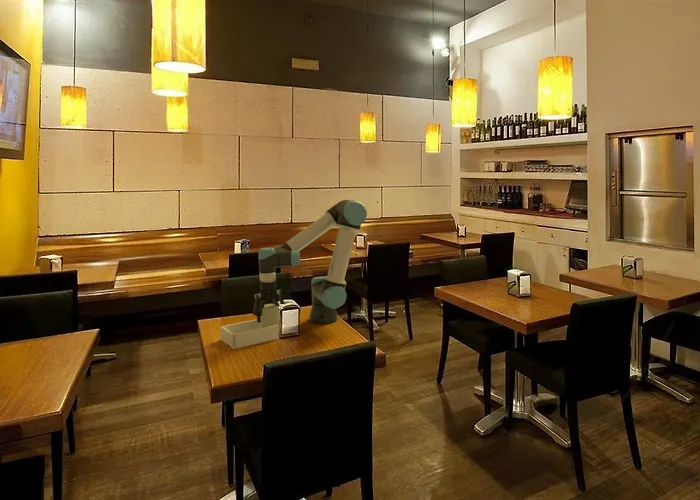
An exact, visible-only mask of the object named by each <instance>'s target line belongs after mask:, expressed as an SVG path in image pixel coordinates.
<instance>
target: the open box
mask: <svg viewBox="0 0 700 500" xmlns="http://www.w3.org/2000/svg"><path fill="white" fill-rule="evenodd" d="M219 328H220V329H219V331H220V341H222V342H223V343H224V344H226V345H227V346H228V345H229V347H230V348H231V349H232V350H237V349H240V348H243V347H244V348H245V347H249V346H253V345H257V344H262V343H265V342H271V341H274V340H279V331H278V325H274V326H269V327H265V328H259V323H258V322H257V318H255V319H252V320H251V319H250V320H246V321H241V322H236V323H232V324H231V323H230V324H226V325H222V326H220V327H219Z"/></svg>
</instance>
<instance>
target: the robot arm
mask: <svg viewBox="0 0 700 500" xmlns="http://www.w3.org/2000/svg"><path fill="white" fill-rule="evenodd" d="M367 217H368V212H367V208H366V207H365V205H364V203H362V202H360V201H357V200H352V199H351V200H349V199H344V200H341V201H340V200H339V201H338V202H337V203H335V204H334V205H332V206H331V207H330V208H329V209H327V210H326V211H325V212H324V215H322V216H321V217H319V218H318V219H317V220H315V221H314V222H312V223H311V224H310V225H308V226H307V227H305V228H304V229H302V230H301V231H299V233H297V234H295V235H294V236H293V237H291V238H290V239H289V240H287V241H286V242H285V243H283V244H282V245H279V246H276V247H274V248H273V247H263V248H262V247H261V248H260V249H258V258H257V259H258V271H259V272H258V273H259V289H260V292H259V293H255V294H253V295H254V301H253V310H252V315H253V316H256V319H257V322H258V323H259V328H263V317H262V316H261V313H262V309H263V308H264V305H265V304H267V302H268V301H272V302H273V304H275V305H277V306H278V305H279V306H280V304H285V301H284V296H283V290H281V289H278V290H277V281H276V279H277V278H276V277H277V275H276V268H277V269H278V268H288V267H296V266H299V265H300V263H301V253H300V251H302V250H303V249H305V248H306V247H307V246H309V245H310V244H311V243H313V242H314V241H315V240H317V239H318V238H319V237H321V236H322V235H323V234H325V233H326V232H328V231H329V230H331V229H332V228H336V227H338V232H337V235H336V239H335V243H334V244H335V245H334V248H333V251H332V252H333V253H332V257H331V261H330V264H329V268H328V271H327V275H326V276H325V275H324V276H316V277H313V278H312V279H311V307H310V308H311V309H310V312H309V314H308V315H309V316H308V317H309V318H308V321H309V322H311V323H314V324H329V323H334V321H335V322H337V321H338V318H339V317H338V316H339V315H338V312H337V310H336V309H338V308H340V307H342V306H343V305H344V304H345V302H346V300H347V292H346V287H347V282H346V280H345V277H346V274H347V271H348V267H349V266H348V265H349V263H350V262H349V261H350V258H351V253H352V249H353V245H354V242H355V239H356V234H357V233H359V232H360V231H361V227H362V224H364V223H365V222H366V220H367ZM276 295H277V297H278V299H277V297H276ZM280 307H281V306H280Z"/></svg>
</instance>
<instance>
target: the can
mask: <svg viewBox="0 0 700 500" xmlns="http://www.w3.org/2000/svg"><path fill="white" fill-rule="evenodd" d="M279 305H280V304H279ZM279 305H278V306H277V305H275V304H274V303H265V305H264V308H263V309H262V313H261V316H262V317H263V328H265V327H269V326H274V325H278V332H279V331H280V330H279Z"/></svg>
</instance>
